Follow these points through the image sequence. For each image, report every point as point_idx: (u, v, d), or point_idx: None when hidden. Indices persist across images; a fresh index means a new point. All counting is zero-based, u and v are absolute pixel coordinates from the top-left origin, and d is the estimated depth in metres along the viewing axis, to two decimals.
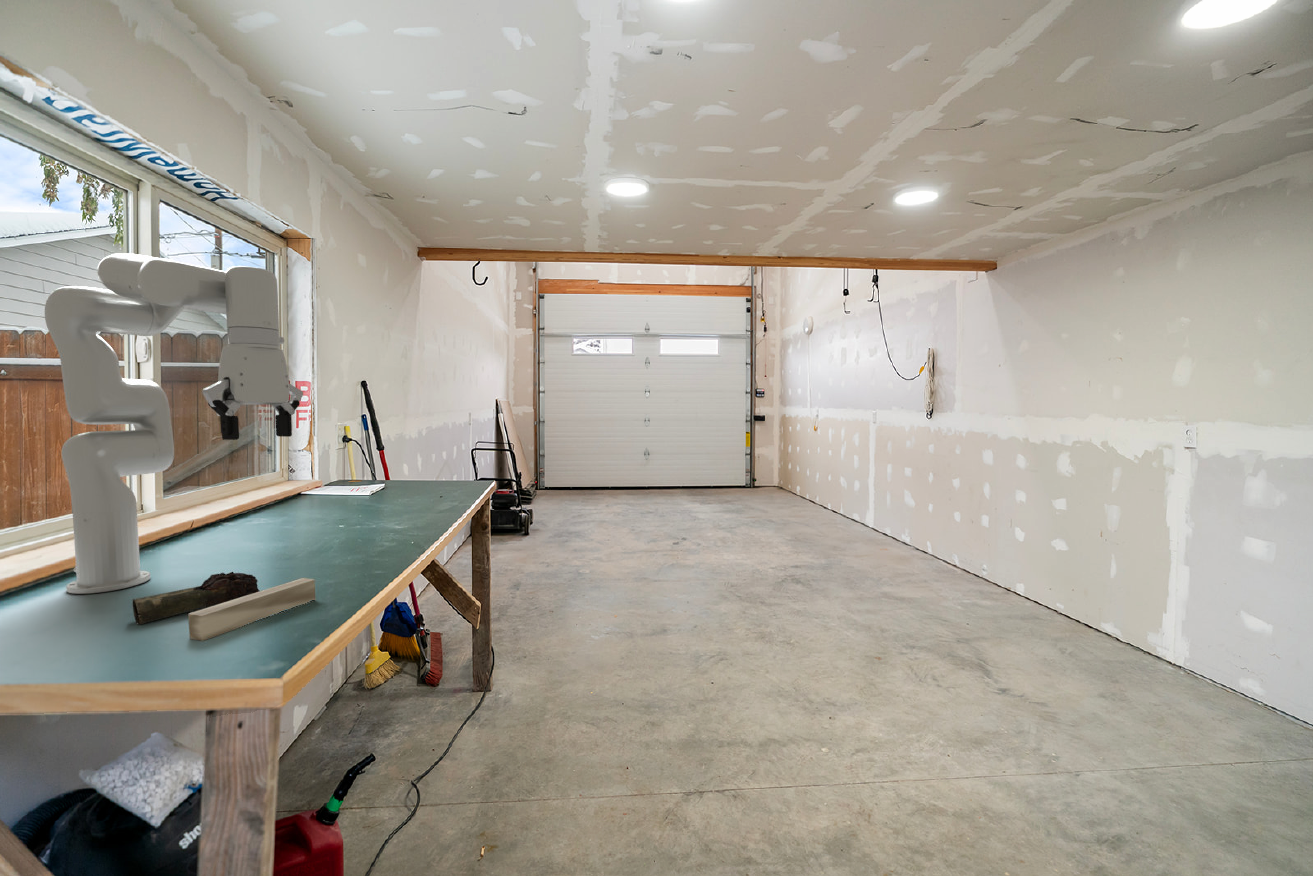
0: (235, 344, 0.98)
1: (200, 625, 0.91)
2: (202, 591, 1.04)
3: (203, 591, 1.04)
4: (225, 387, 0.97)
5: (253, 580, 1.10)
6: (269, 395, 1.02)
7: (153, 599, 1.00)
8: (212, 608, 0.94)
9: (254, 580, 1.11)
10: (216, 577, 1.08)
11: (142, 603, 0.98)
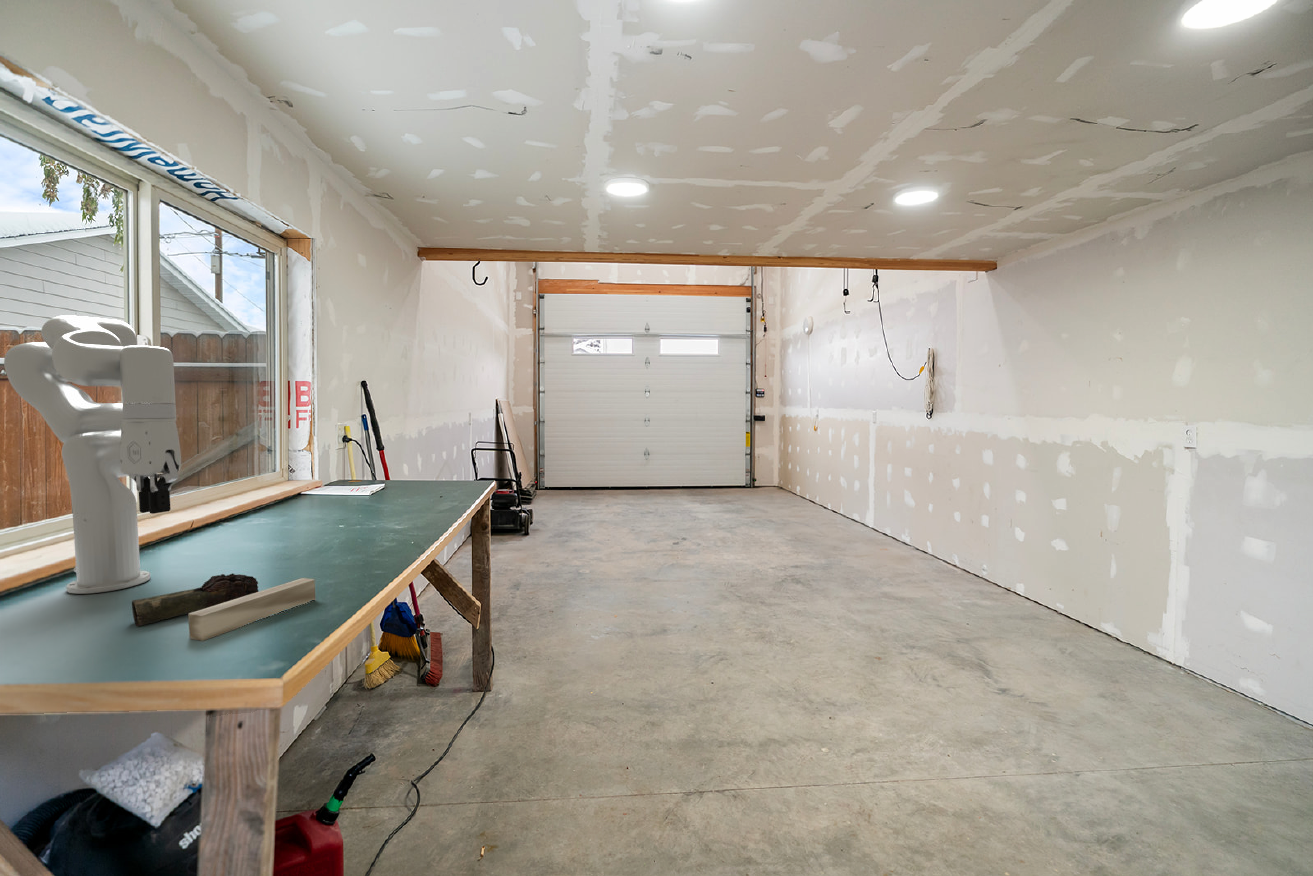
0: (166, 419, 1.07)
1: (200, 625, 0.91)
2: (202, 593, 1.04)
3: (203, 593, 1.04)
4: None
5: (253, 582, 1.10)
6: None
7: (152, 601, 0.99)
8: (212, 608, 0.94)
9: (254, 582, 1.10)
10: (216, 578, 1.07)
11: (141, 605, 0.98)
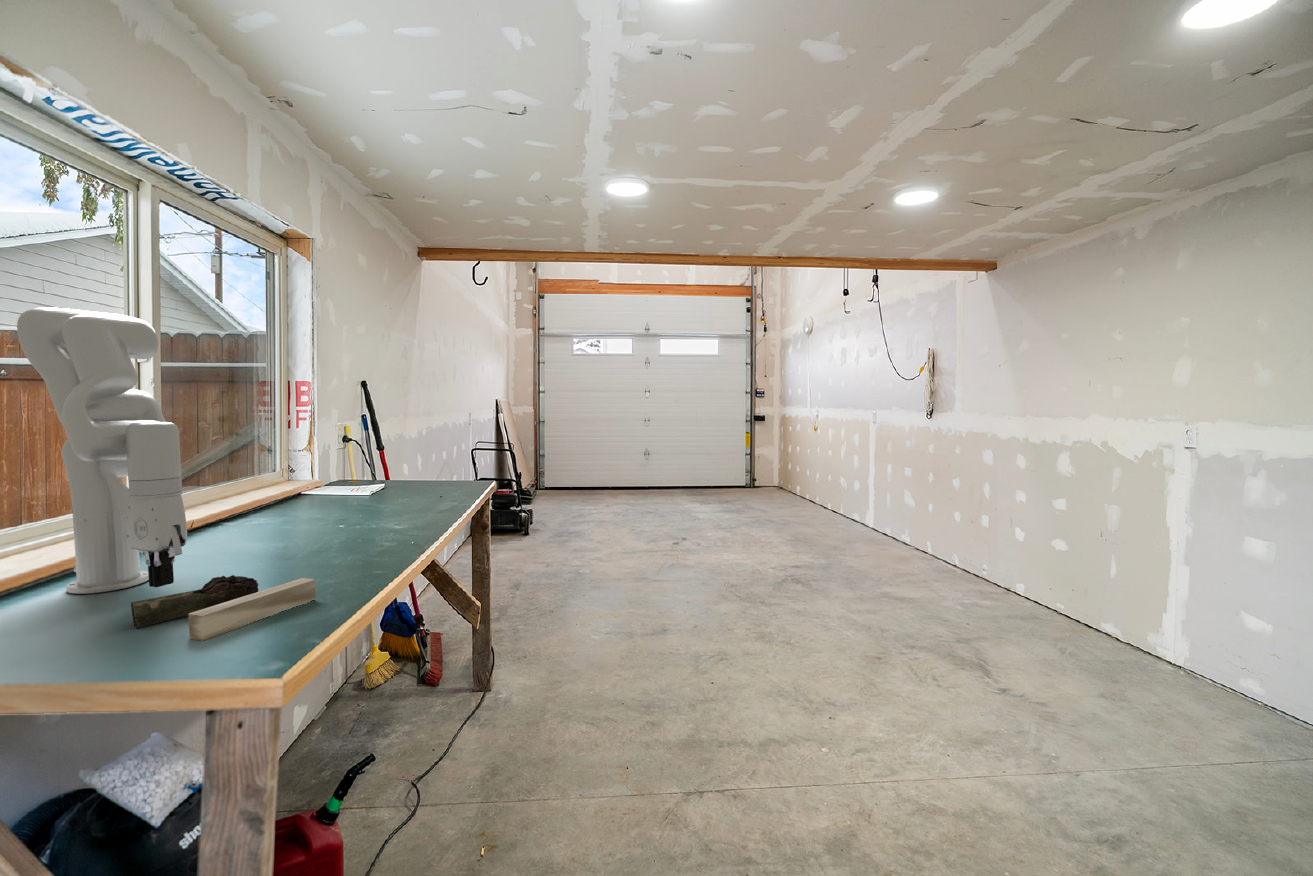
0: (172, 494, 1.08)
1: (200, 625, 0.91)
2: (201, 595, 1.02)
3: (202, 595, 1.03)
4: None
5: (254, 584, 1.08)
6: None
7: (151, 602, 0.98)
8: (212, 608, 0.94)
9: (255, 584, 1.08)
10: (216, 580, 1.06)
11: (139, 606, 0.97)
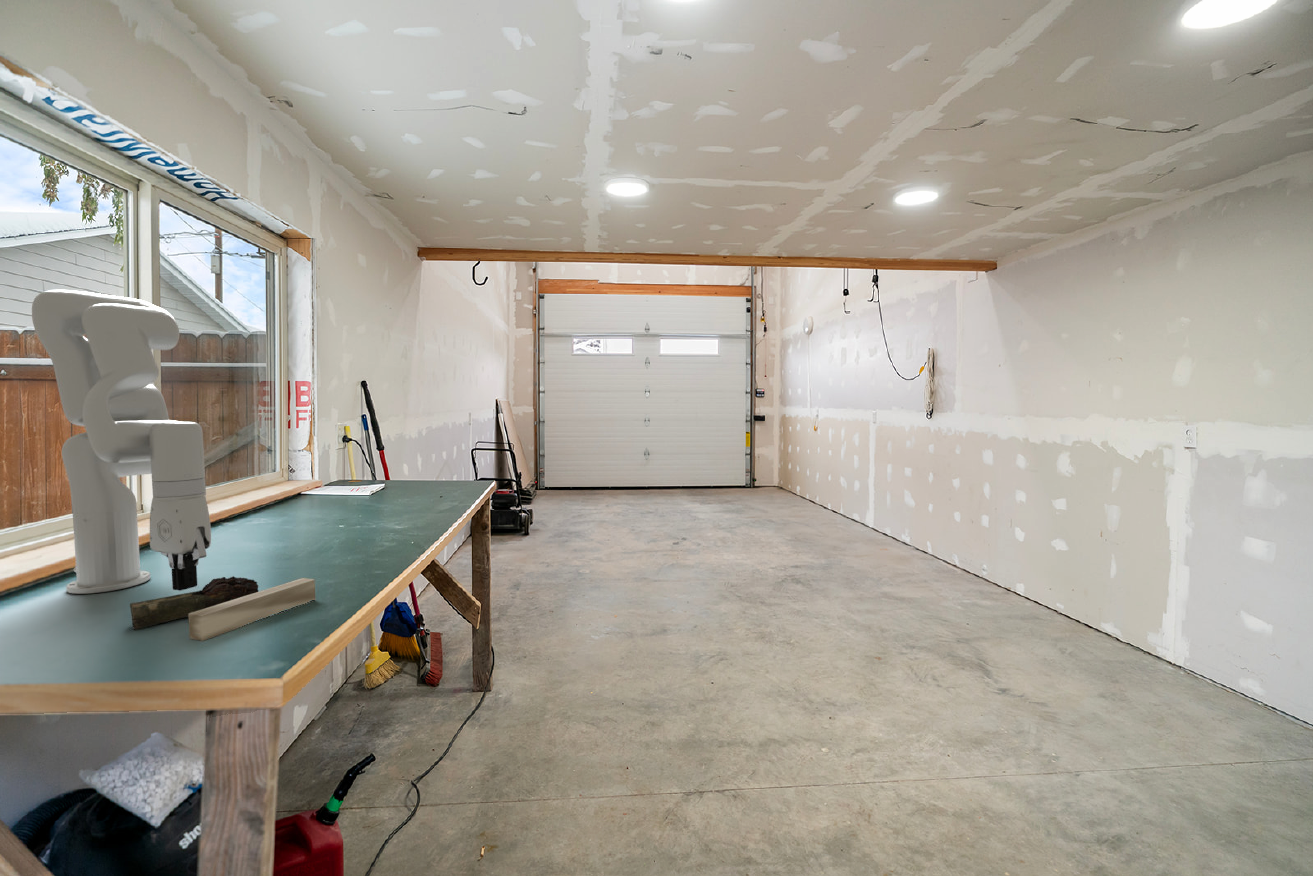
0: (196, 495, 1.06)
1: (200, 625, 0.91)
2: (200, 596, 1.02)
3: (201, 596, 1.02)
4: None
5: (254, 585, 1.07)
6: None
7: (150, 604, 0.97)
8: (212, 608, 0.94)
9: (255, 585, 1.07)
10: (216, 582, 1.06)
11: (138, 608, 0.96)
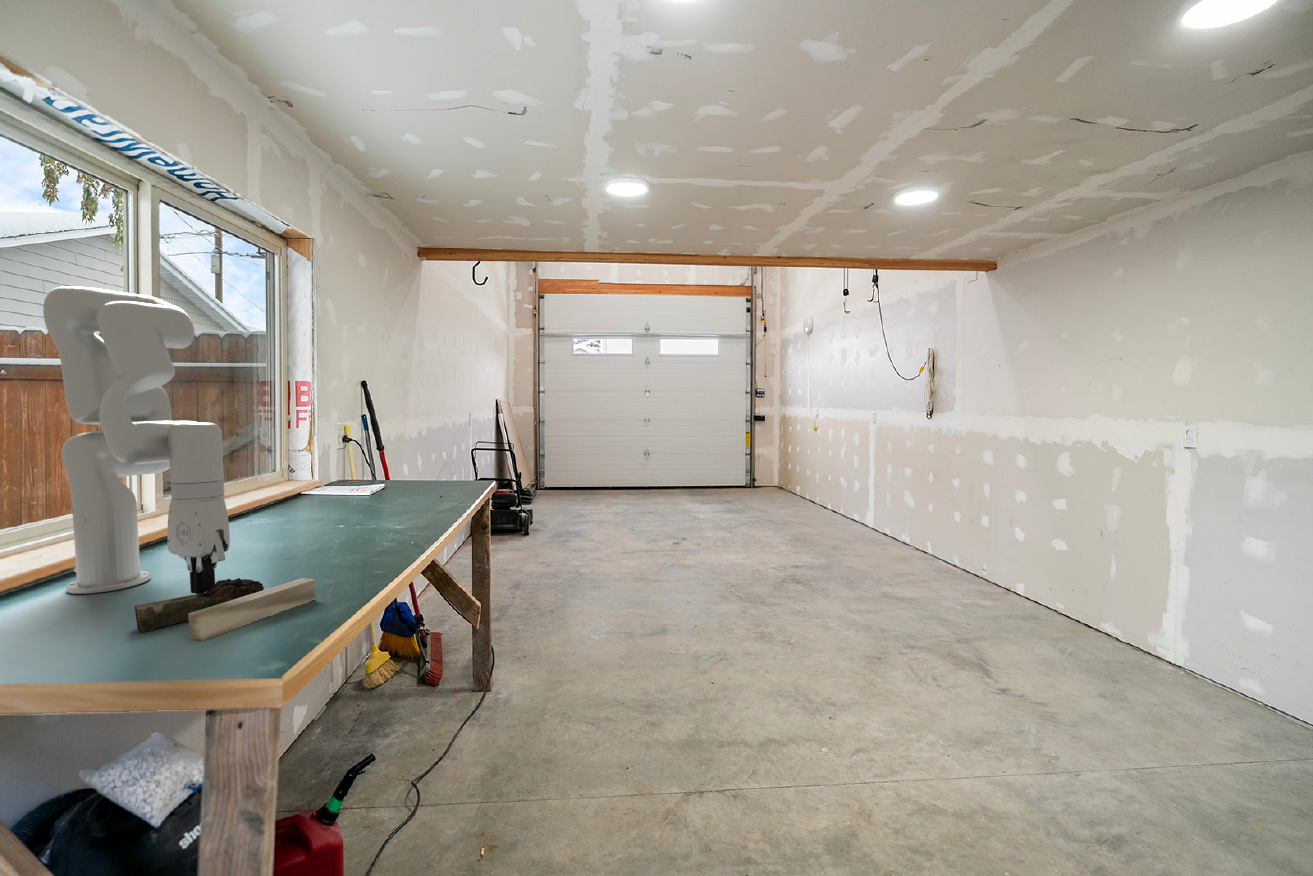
0: (215, 497, 1.04)
1: (200, 625, 0.91)
2: (206, 598, 1.01)
3: (207, 598, 1.01)
4: None
5: (259, 587, 1.06)
6: None
7: (155, 606, 0.96)
8: (212, 608, 0.94)
9: (260, 587, 1.06)
10: (221, 583, 1.04)
11: (143, 610, 0.95)
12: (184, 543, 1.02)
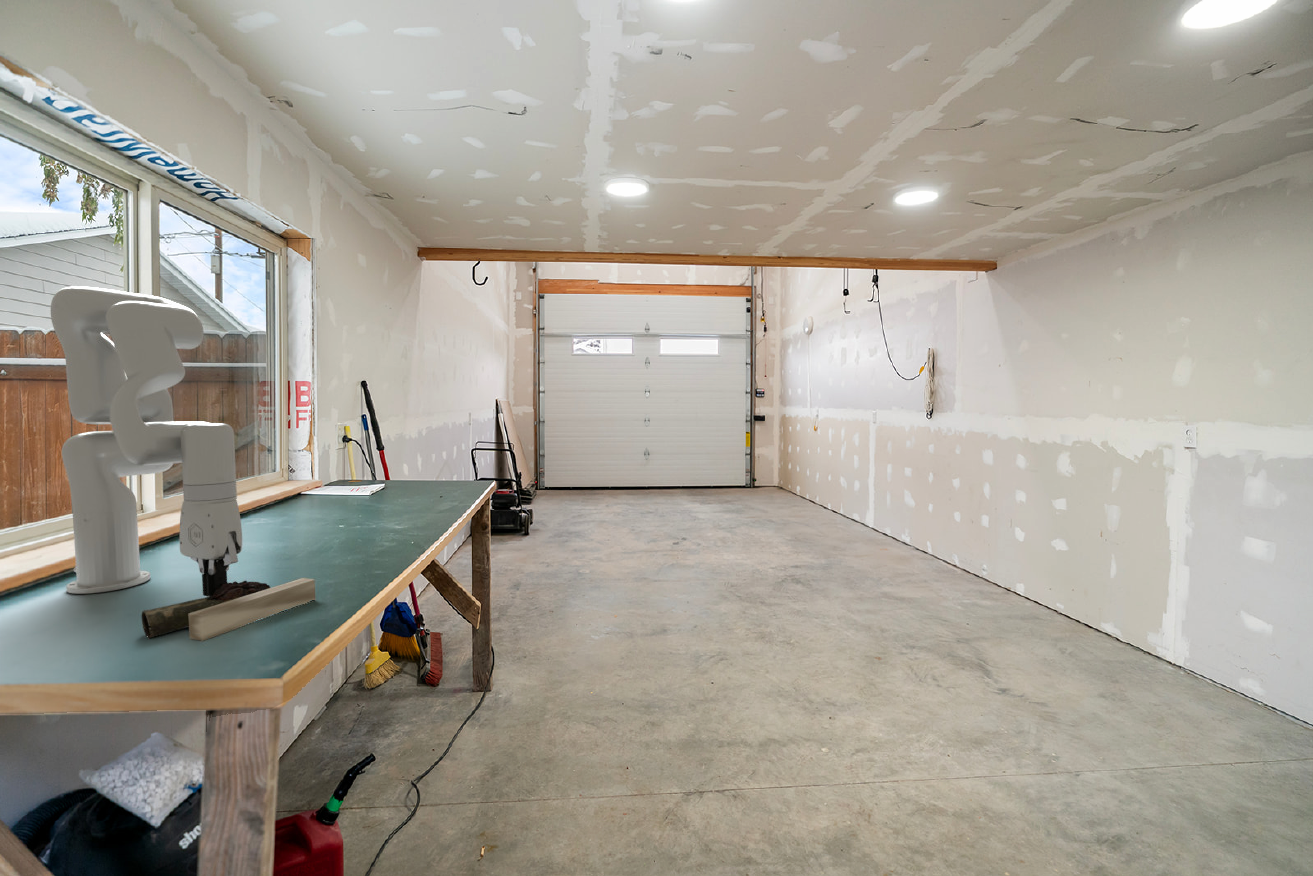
0: (228, 499, 1.03)
1: (200, 625, 0.91)
2: (215, 601, 0.99)
3: (216, 601, 0.99)
4: None
5: None
6: None
7: (164, 611, 0.94)
8: (212, 608, 0.94)
9: None
10: (228, 586, 1.03)
11: (153, 615, 0.93)
12: (196, 545, 1.01)
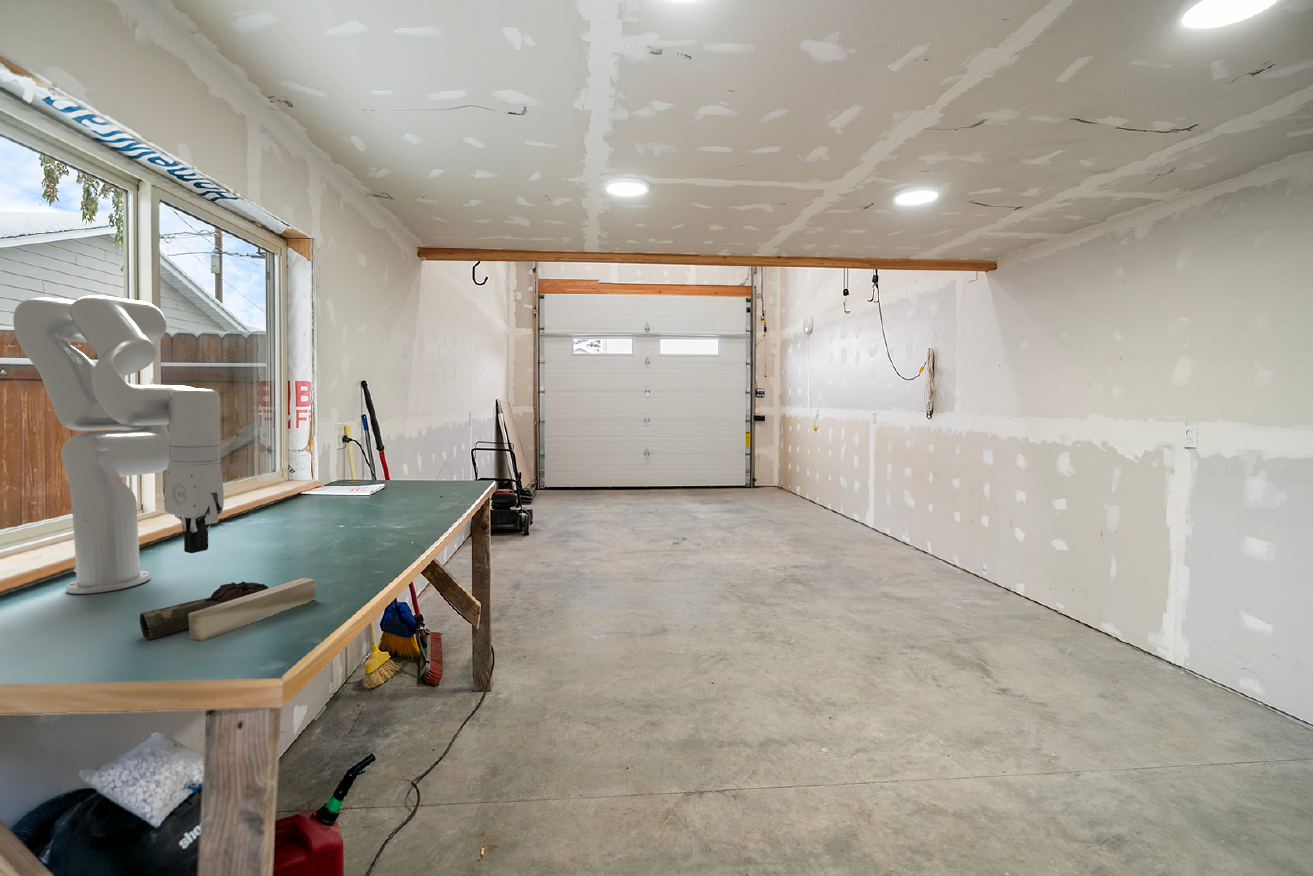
0: (211, 462, 1.08)
1: (200, 625, 0.91)
2: (214, 602, 0.98)
3: (215, 602, 0.98)
4: None
5: None
6: None
7: (163, 612, 0.93)
8: (212, 608, 0.94)
9: None
10: (226, 587, 1.02)
11: (152, 617, 0.92)
12: (179, 504, 1.06)
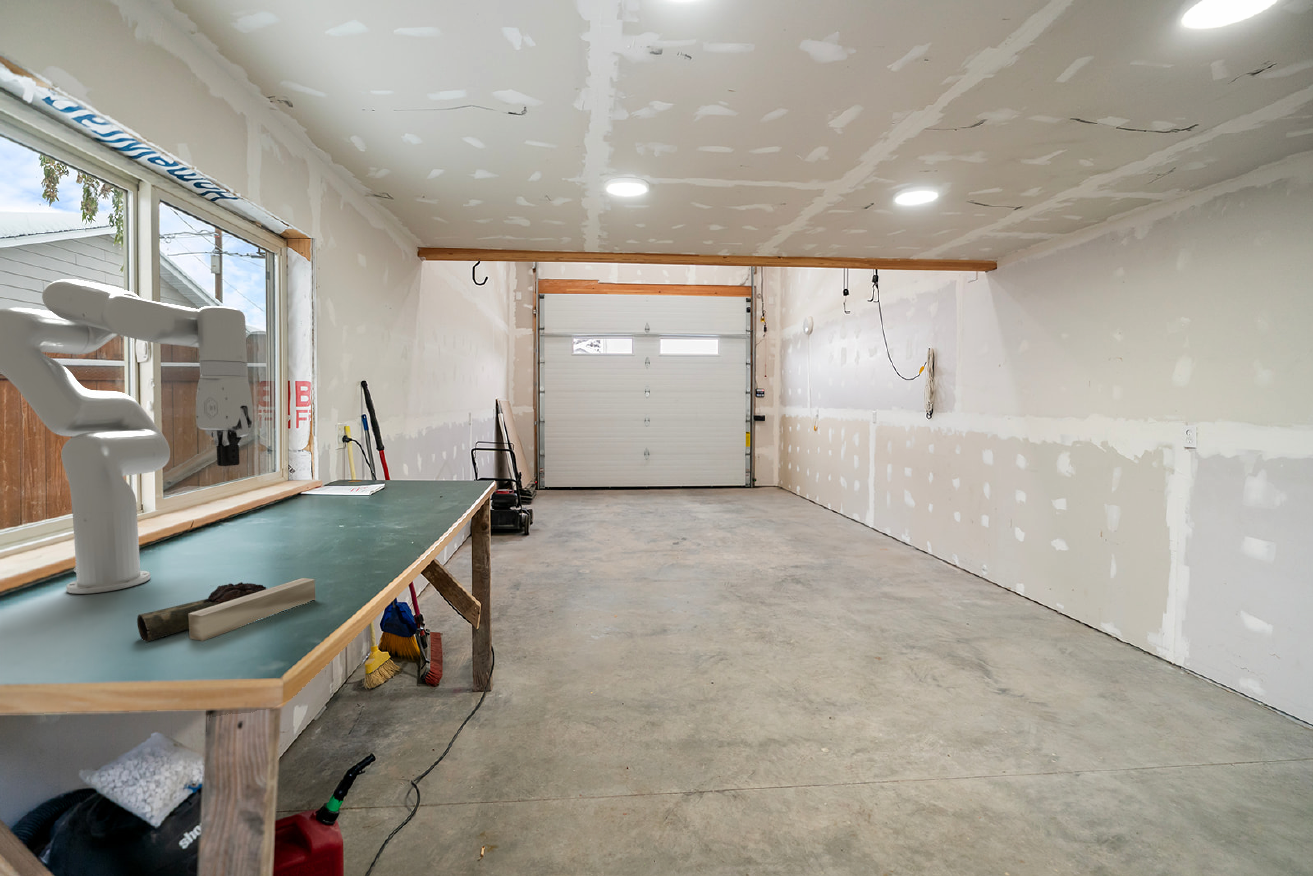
0: (240, 377, 1.13)
1: (200, 625, 0.91)
2: (213, 604, 0.98)
3: (214, 604, 0.98)
4: None
5: None
6: None
7: (161, 614, 0.93)
8: (212, 608, 0.94)
9: None
10: (224, 588, 1.02)
11: (150, 618, 0.91)
12: (212, 417, 1.11)
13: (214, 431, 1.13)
